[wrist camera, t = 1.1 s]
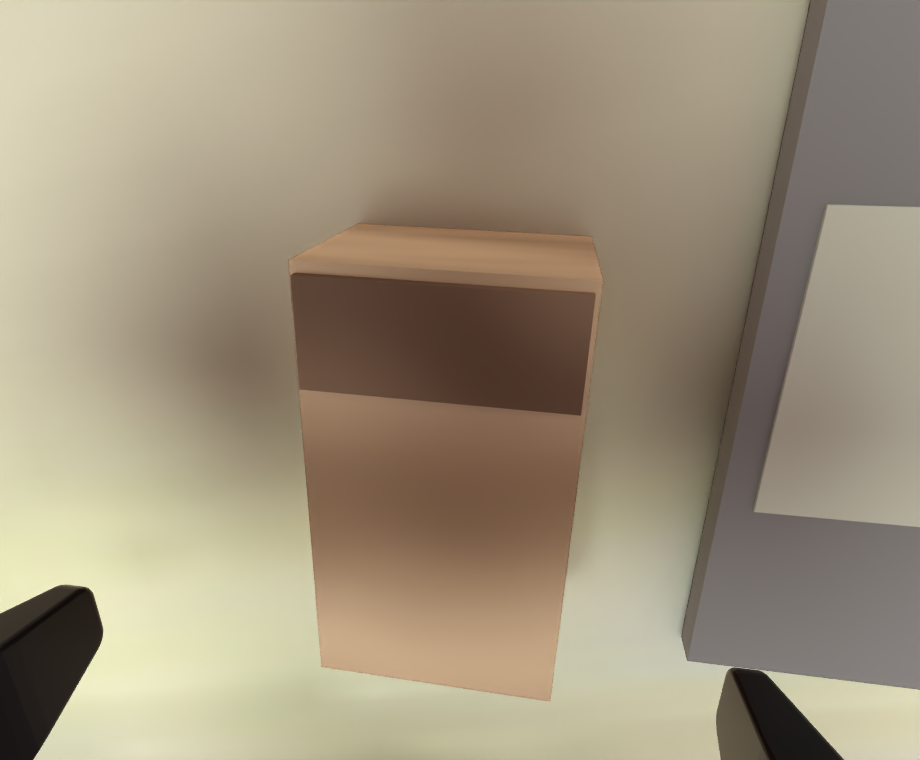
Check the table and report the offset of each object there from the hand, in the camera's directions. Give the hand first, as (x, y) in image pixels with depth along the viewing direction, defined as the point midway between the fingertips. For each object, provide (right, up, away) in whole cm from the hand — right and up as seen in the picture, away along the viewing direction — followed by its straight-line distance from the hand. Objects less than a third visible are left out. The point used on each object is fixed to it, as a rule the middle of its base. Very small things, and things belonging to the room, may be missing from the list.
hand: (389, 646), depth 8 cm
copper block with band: (+1, +3, +6) cm, 7 cm away
